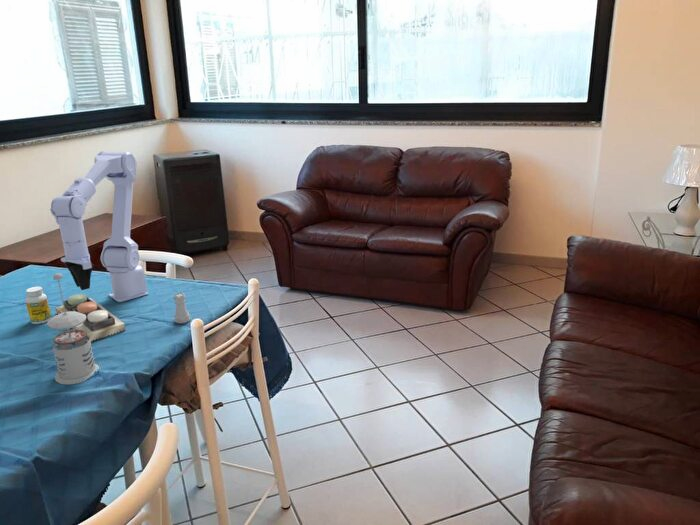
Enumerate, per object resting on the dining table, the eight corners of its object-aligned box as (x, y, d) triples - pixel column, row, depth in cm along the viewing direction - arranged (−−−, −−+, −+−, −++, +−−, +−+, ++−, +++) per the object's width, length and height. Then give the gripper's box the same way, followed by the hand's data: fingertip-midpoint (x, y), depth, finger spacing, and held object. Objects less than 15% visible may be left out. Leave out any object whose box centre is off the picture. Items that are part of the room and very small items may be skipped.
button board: (91, 303, 173) (89, 292, 172) (125, 330, 156) (123, 317, 154) (56, 313, 167) (54, 301, 165) (87, 342, 149) (85, 329, 148)
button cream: (104, 315, 158) (103, 308, 157) (111, 320, 154) (110, 313, 154) (85, 320, 155) (84, 314, 154) (92, 326, 151) (91, 319, 151)
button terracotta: (93, 306, 164) (92, 300, 163) (100, 311, 160) (99, 305, 159) (75, 312, 160) (74, 305, 160) (81, 317, 157) (80, 310, 156)
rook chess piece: (194, 318, 162) (191, 292, 159) (183, 325, 158) (180, 298, 155) (181, 316, 163) (178, 290, 161) (170, 322, 160) (167, 295, 157)
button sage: (83, 298, 169) (82, 292, 168) (90, 303, 166) (88, 297, 165) (66, 303, 166) (64, 297, 165) (72, 308, 162) (70, 302, 162)
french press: (53, 388, 129) (30, 284, 120) (55, 364, 139) (34, 267, 130) (100, 378, 132) (81, 277, 124) (99, 356, 142) (81, 260, 134)
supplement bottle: (50, 314, 166) (43, 284, 163) (53, 321, 162) (46, 289, 159) (29, 319, 164) (22, 288, 160) (31, 326, 159) (24, 294, 156)
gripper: (49, 237, 156) (59, 284, 160) (67, 249, 146) (77, 298, 150) (76, 232, 160) (85, 277, 165) (95, 243, 150) (104, 291, 155)
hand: (83, 287), depth 158 cm, fingers open, 3 cm apart
